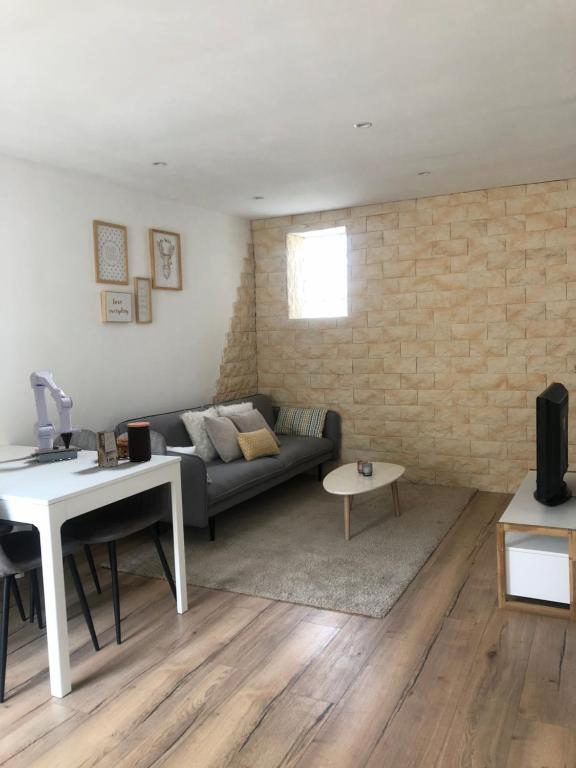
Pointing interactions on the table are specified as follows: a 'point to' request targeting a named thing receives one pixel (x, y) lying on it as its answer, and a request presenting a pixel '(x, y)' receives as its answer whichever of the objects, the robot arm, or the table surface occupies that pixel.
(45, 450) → the cabinet door
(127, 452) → the bread
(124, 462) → the table surface
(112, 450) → the coffee box
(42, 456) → the grey slotted box
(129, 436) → the coffee jar
